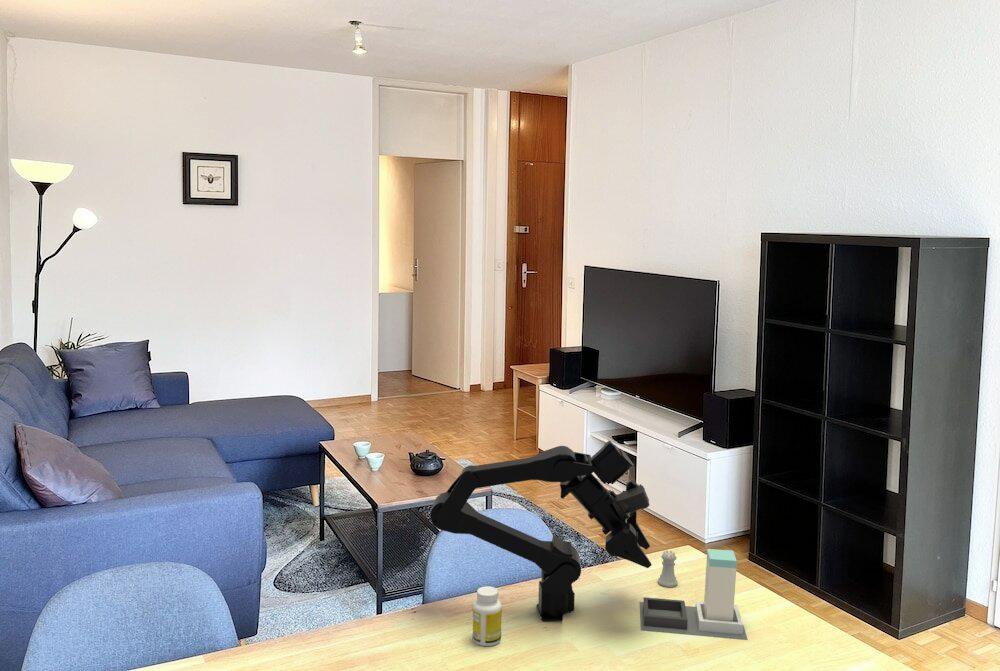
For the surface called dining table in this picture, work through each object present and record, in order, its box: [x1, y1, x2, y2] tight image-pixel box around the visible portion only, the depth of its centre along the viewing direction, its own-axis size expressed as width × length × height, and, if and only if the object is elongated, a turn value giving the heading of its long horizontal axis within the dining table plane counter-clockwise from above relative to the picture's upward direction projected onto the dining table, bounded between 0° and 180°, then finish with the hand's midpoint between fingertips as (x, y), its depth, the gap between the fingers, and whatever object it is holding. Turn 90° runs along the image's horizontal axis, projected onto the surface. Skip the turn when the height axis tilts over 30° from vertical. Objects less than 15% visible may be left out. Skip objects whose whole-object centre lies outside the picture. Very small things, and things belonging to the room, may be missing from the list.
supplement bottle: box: [472, 586, 503, 647], centre depth 155 cm, size 5×5×10 cm
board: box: [639, 596, 749, 641], centre depth 163 cm, size 20×12×3 cm, turn 82°
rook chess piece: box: [657, 550, 679, 588], centre depth 179 cm, size 4×4×8 cm
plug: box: [703, 548, 738, 622], centre depth 161 cm, size 5×5×14 cm
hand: (649, 556), depth 163 cm, fingers open, 9 cm apart
